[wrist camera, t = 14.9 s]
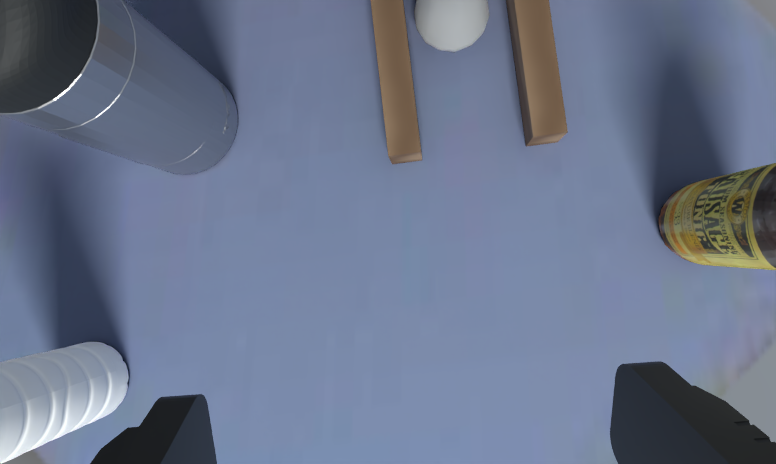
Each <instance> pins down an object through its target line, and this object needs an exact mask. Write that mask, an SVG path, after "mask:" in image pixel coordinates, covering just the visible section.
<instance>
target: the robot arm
mask: <svg viewBox="0 0 776 464" xmlns="http://www.w3.org/2000/svg"><path fill="white" fill-rule="evenodd" d="M0 116H3V117H6V118H9V119H12V120H15V121H18V122H21V123H24V124H27V125H30V126H33V127H37V128H40V129H43V130H46V131H49V132H52V133H55V134H58V135H59V136H61V137H63V138H66V139H69V140H72V141H75V142H78V143H81V144H84V145H87V146H90V147H93V148H96V149H99V150H102V151H105V152H108V153H111V154H114V155H117V156H120V157H123V158H126V159H129V160H132V161H134V162H137V163H140V164H146V165H149V166H152V167H155V168H158V169H161V170H164V171H167V172H170V173H173V174H181V175H188V174H196V173H199V172H202V171H205V170H207V169H209V168H210V167H212V166H213V165H215V164H216V163H217V162H219V161H220V160H221V159H222V158H223V157H224V156H225V154H226V153H227V151H228V150H229V149H230V147H231V145H232V143H233V140H234V138H235V135H236V131H237V126H238V114H237V109H236V104H235V102H234V99H233V97H232V95H231V93H230V92H229V90H228V89H227V88H226V86H225V85H224V84H223V83H221V82H220V81H219V80H218V79H217V78H216V77H214V76H213V75H212V74H211V73H210V72H209V71H207V70H206V69H205V68H204V67H203V66H201V65H200V64H199V63H198V62H197V61H196V60H195V59H193V58H192V57H191V56H190V55H189V54H187V53H186V52H185V51H184V50H183V49H181V48H180V47H179V46H178V45H177V44H175V43H174V42H173V41H172V40H171V39H169V38H168V37H167V36H166V35H165V34H163V33H162V32H161V31H160V30H159V29H158V28H156V27H155V26H154V25H153V24H152V23H150V22H149V21H148V20H147V19H146V18H144V17H143V16H142V15H141V14H140V13H138V12H137V11H136V10H135V9H134V8H132V7H131V6H130V5H129V4H128V3H126V2H125V1H124V0H0ZM610 438H611V444H612V449H613V452H614V455H615V457H616V460H617V462H618V464H776V443H775V442H771V441H770V439H769V437H768V436H767V435H766V434H764V433H763V432H762V431H761V430H760V429H758V428H757V427H756V426H755V425H750V423H749V420H748V419H746V418H745V417H744V416H743V415H741V414H740V413H739V412H738V411H737V410H735V409H734V408H733V407H732V406H730V405H729V404H728V403H727V402H726V401H724V400H722V399H720V398H718V397H716V396H714V395H712V394H710V393H708V392H706V391H704V390H702V389H701V388H699V387H697V386H691V385H690V384H689V383H688V382H687V381H686V380H684V379H683V378H682V377H681V376H680V375H679V374H677V373H676V372H675V371H674V370H673V369H672V368H670V367H669V366H668V365H667V364H665V363H663V362H645V363H630V364H622V365H620V366H619V367H618V369H617V372H616V377H615V387H614V397H613V407H612V417H611V428H610ZM90 464H217V461H216V454H215V448H214V442H213V436H212V429H211V423H210V417H209V411H208V405H207V401H206V399H205V397H204V395H202V394H199V395H184V396H170V397H161V398H159V399H158V400H157V401H156V402H155V404H154V405H153V407H152V408H151V410H150V411H149V413H148V414H147V416H146V417H145V419H144V420H143V422H142V423H141V425H140V426H139V427H132V428H127V429H126V430H124V431H123V432H122V433H120V434H119V435H118V436H117V437H115V438H114V439H113V440H112V441H110V442H109V443H108V444H107V445H105V446H104V447H103V448H101V450H100V451H99V452H98V454H97V455H96V456H95V458H94V459H93V461H92V462H91V463H90Z"/></svg>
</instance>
